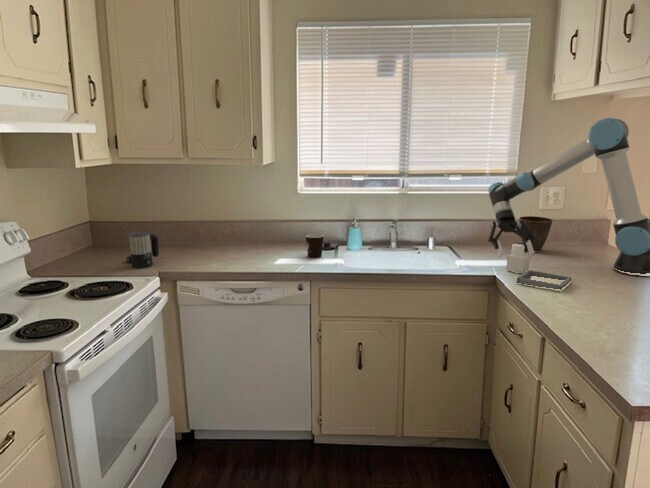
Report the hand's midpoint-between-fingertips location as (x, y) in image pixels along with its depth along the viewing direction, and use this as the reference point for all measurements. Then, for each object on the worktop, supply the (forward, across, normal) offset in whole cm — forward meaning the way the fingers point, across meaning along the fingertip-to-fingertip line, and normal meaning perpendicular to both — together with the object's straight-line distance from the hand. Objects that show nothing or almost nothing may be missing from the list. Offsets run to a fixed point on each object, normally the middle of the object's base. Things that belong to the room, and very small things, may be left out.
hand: (516, 255), depth 205 cm
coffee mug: (-19, +83, -29) cm, 90 cm away
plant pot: (-19, -25, -29) cm, 43 cm away
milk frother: (-13, +163, -24) cm, 165 cm away
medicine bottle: (+6, -1, -5) cm, 7 cm away
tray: (+18, -3, +8) cm, 20 cm away
